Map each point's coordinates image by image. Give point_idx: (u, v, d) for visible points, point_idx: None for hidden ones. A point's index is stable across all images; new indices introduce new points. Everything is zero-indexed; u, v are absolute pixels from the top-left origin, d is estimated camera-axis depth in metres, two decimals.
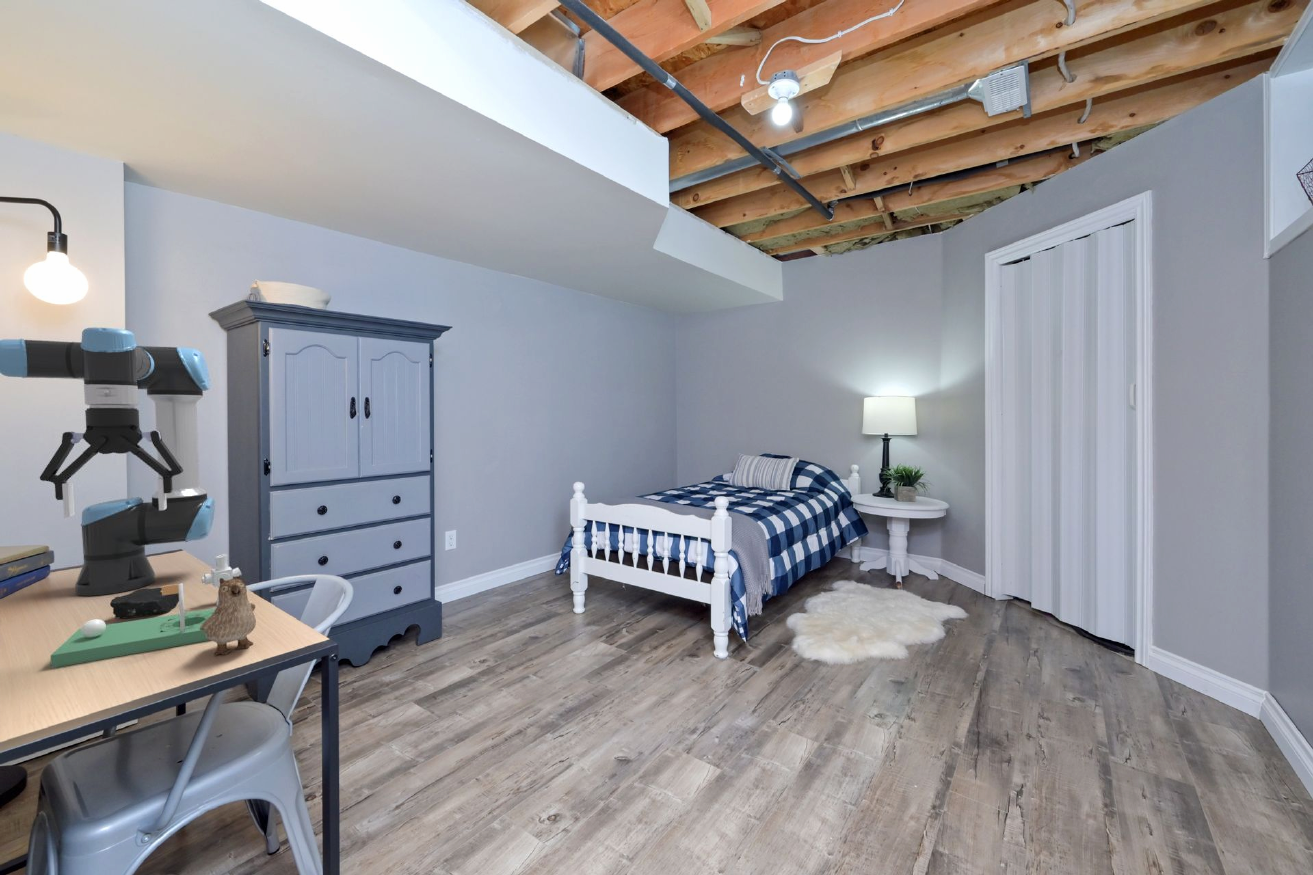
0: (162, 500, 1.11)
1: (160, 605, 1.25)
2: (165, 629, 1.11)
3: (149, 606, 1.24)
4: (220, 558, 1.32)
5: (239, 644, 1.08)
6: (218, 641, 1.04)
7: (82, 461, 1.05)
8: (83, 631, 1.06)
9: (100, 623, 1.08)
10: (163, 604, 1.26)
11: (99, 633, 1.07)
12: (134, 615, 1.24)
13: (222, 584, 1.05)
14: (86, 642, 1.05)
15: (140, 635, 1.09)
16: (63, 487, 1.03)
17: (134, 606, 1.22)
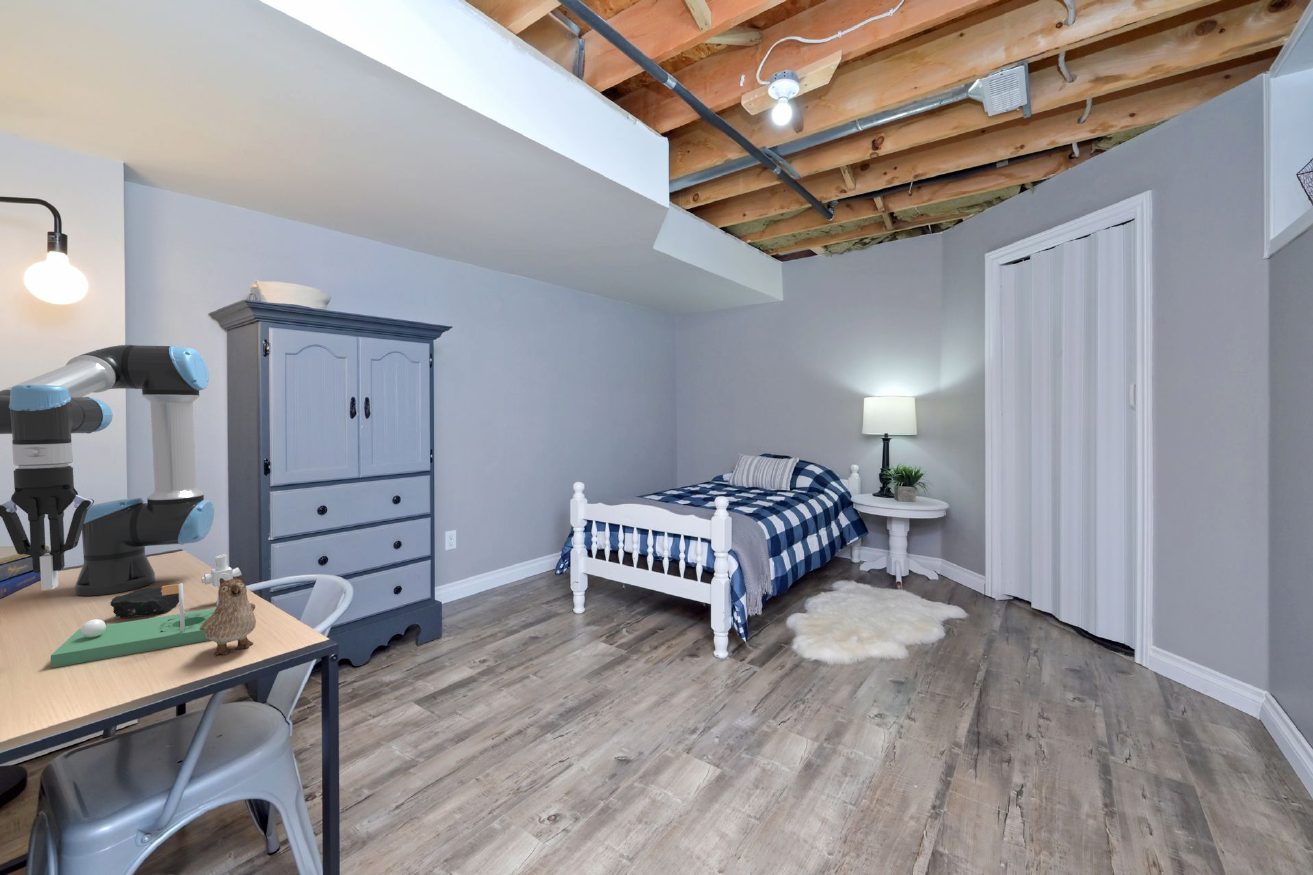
0: (51, 578, 1.03)
1: (160, 605, 1.25)
2: (165, 629, 1.11)
3: (148, 606, 1.24)
4: (220, 558, 1.32)
5: (239, 644, 1.08)
6: (218, 641, 1.04)
7: (37, 527, 1.02)
8: (83, 631, 1.06)
9: (100, 623, 1.08)
10: (163, 604, 1.26)
11: (99, 633, 1.07)
12: (134, 614, 1.24)
13: (222, 584, 1.05)
14: (86, 642, 1.05)
15: (140, 635, 1.09)
16: (41, 560, 1.02)
17: (134, 606, 1.23)
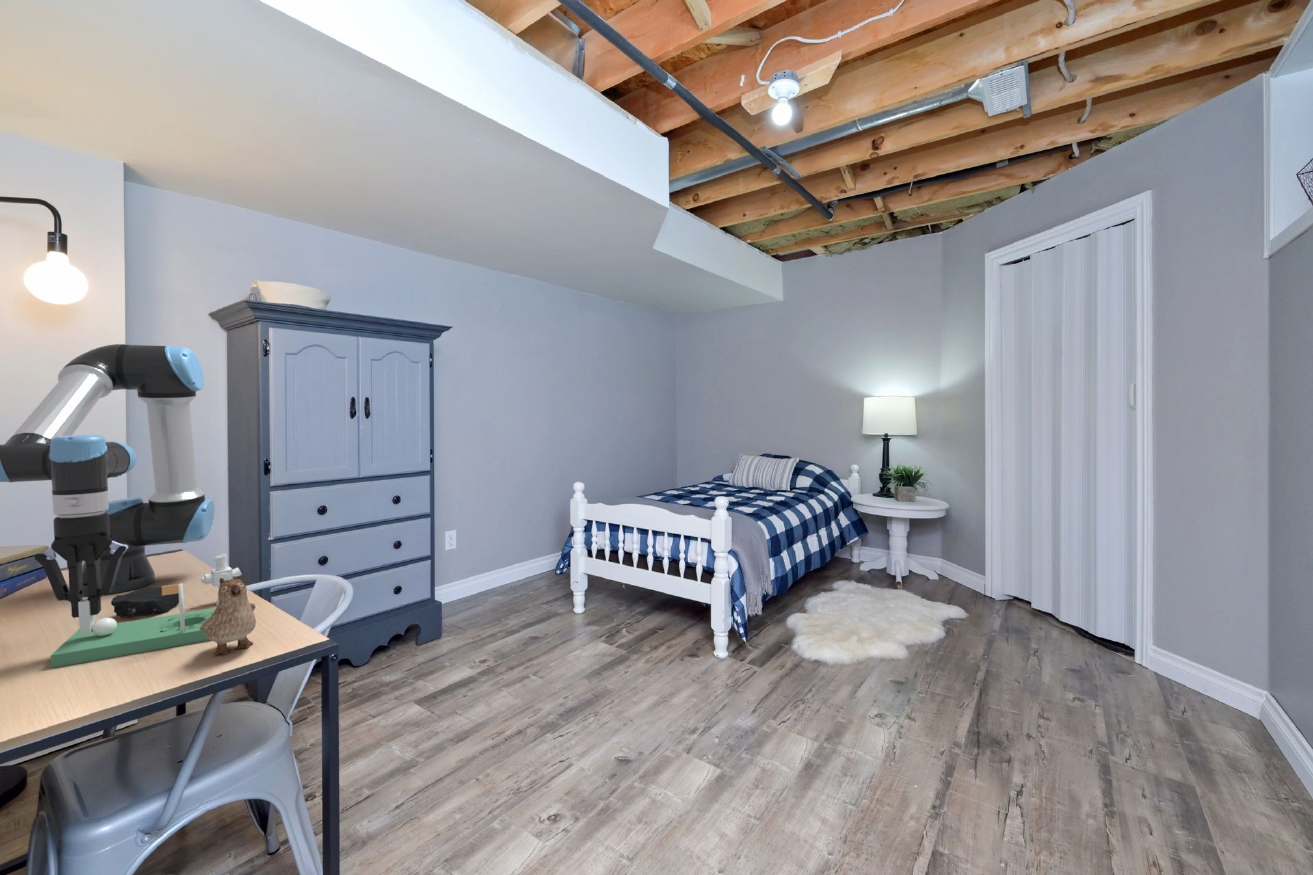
0: (88, 623, 1.06)
1: (159, 605, 1.25)
2: (165, 629, 1.11)
3: (148, 606, 1.24)
4: (220, 558, 1.32)
5: (239, 644, 1.08)
6: (218, 641, 1.04)
7: (75, 574, 1.05)
8: (97, 625, 1.07)
9: (114, 627, 1.09)
10: (163, 603, 1.26)
11: (103, 635, 1.08)
12: (134, 614, 1.25)
13: (222, 584, 1.05)
14: (86, 642, 1.05)
15: (140, 635, 1.09)
16: (79, 605, 1.05)
17: (133, 605, 1.23)
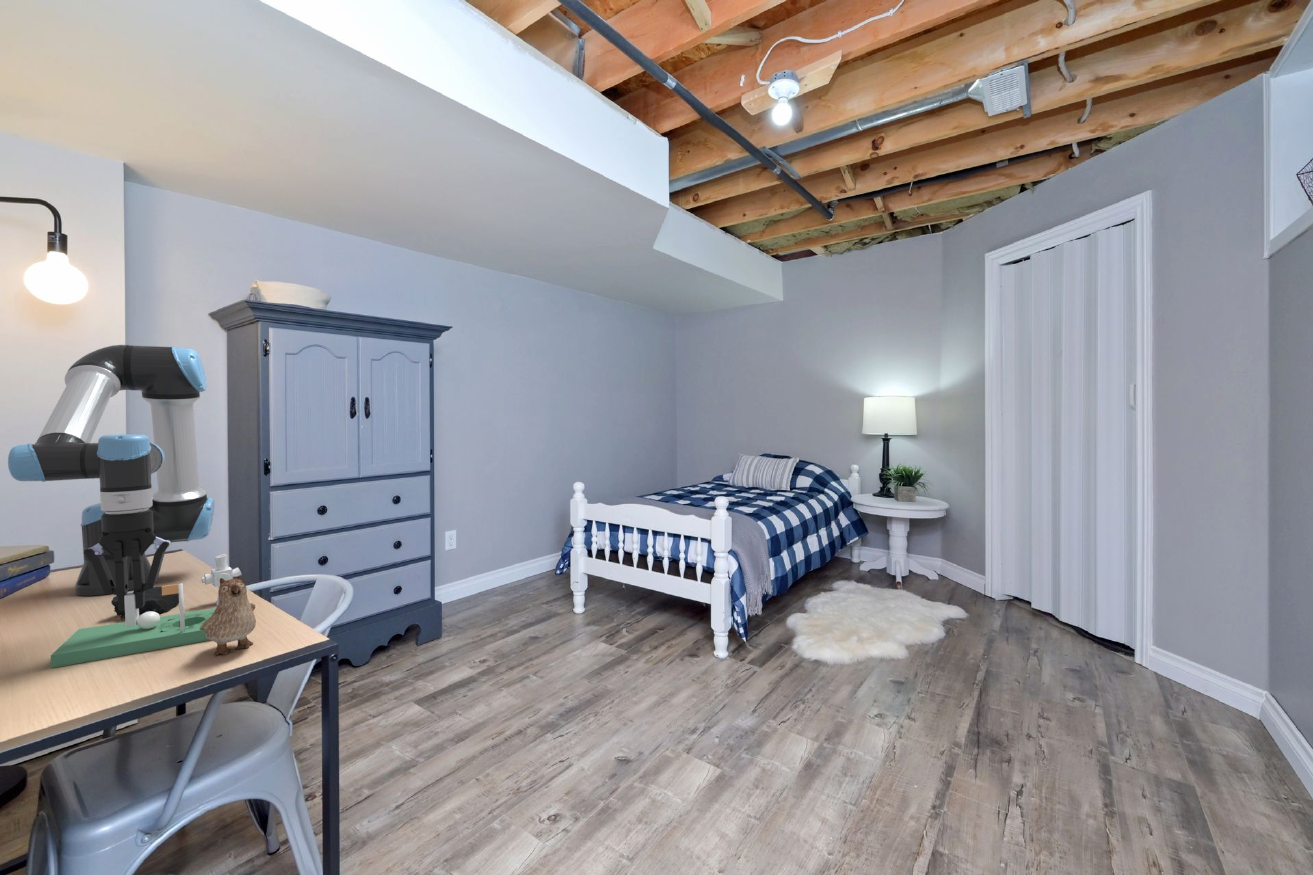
0: (134, 616, 1.10)
1: (159, 604, 1.25)
2: (165, 629, 1.11)
3: (148, 605, 1.24)
4: (220, 558, 1.32)
5: (239, 644, 1.08)
6: (218, 641, 1.04)
7: (122, 568, 1.09)
8: (151, 625, 1.11)
9: (137, 621, 1.10)
10: (163, 603, 1.26)
11: (147, 614, 1.11)
12: None
13: (222, 584, 1.05)
14: (86, 642, 1.05)
15: (140, 635, 1.09)
16: (125, 599, 1.09)
17: None
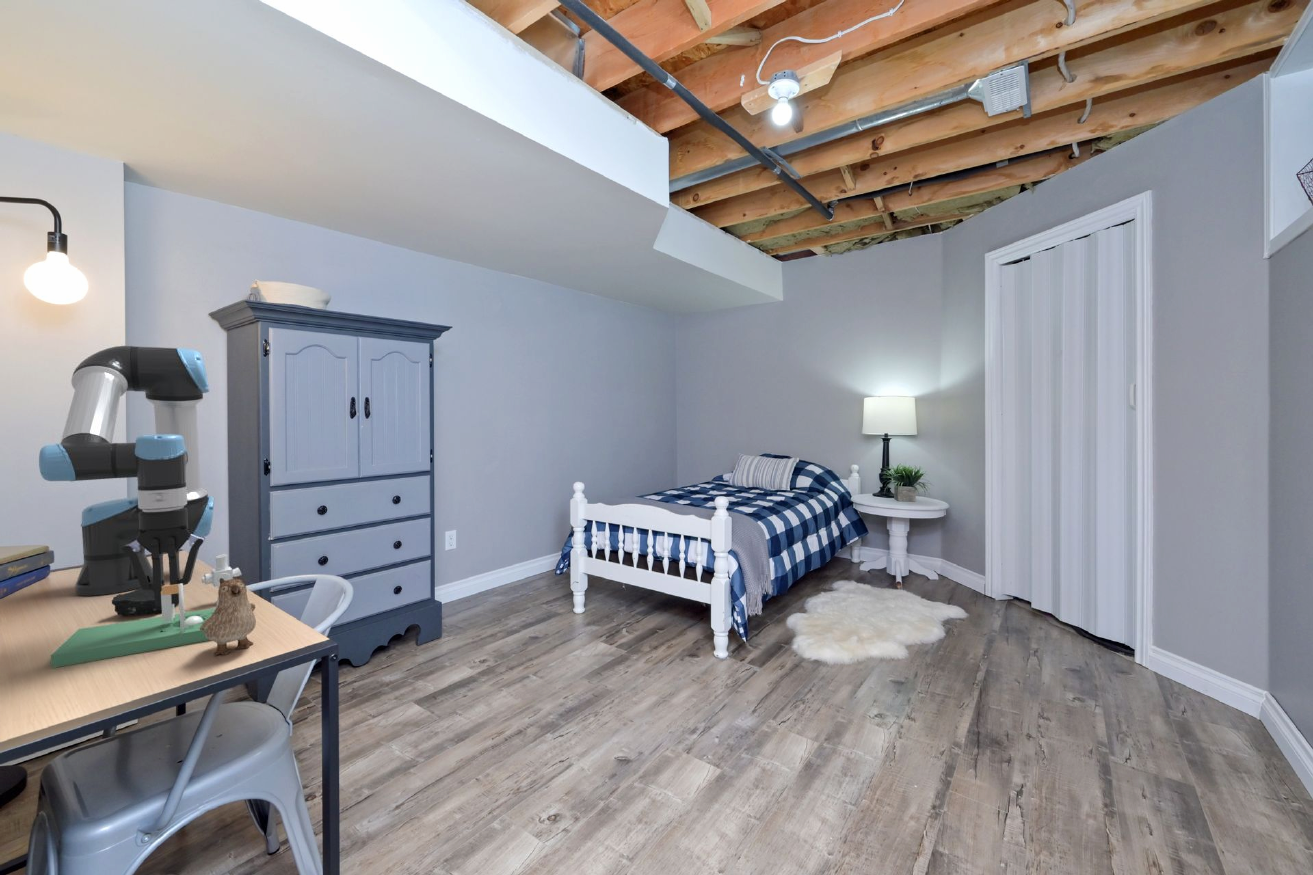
0: (170, 611, 1.13)
1: None
2: (165, 629, 1.11)
3: (148, 605, 1.25)
4: (220, 558, 1.32)
5: (239, 644, 1.08)
6: (218, 641, 1.04)
7: (158, 565, 1.12)
8: (193, 621, 1.15)
9: None
10: None
11: None
12: (135, 613, 1.25)
13: (222, 584, 1.05)
14: (86, 642, 1.05)
15: (140, 635, 1.09)
16: None
17: (133, 604, 1.23)
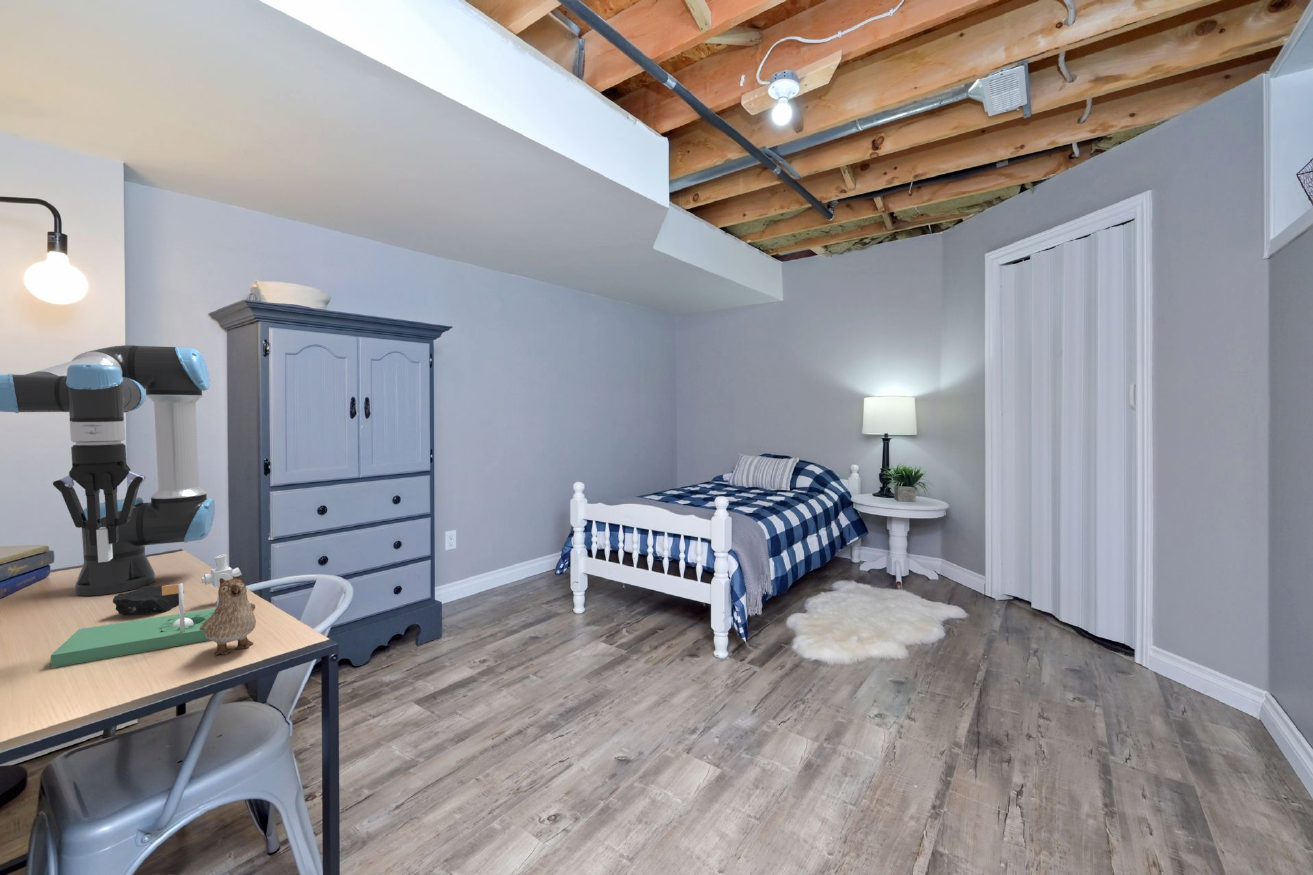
0: (107, 551, 1.07)
1: (159, 604, 1.26)
2: (165, 629, 1.11)
3: (147, 604, 1.25)
4: (220, 558, 1.32)
5: (239, 644, 1.08)
6: (218, 641, 1.04)
7: (93, 502, 1.06)
8: (177, 624, 1.13)
9: None
10: (162, 602, 1.27)
11: None
12: (135, 612, 1.25)
13: (222, 584, 1.05)
14: (86, 642, 1.05)
15: (140, 635, 1.09)
16: (97, 533, 1.06)
17: (133, 604, 1.24)
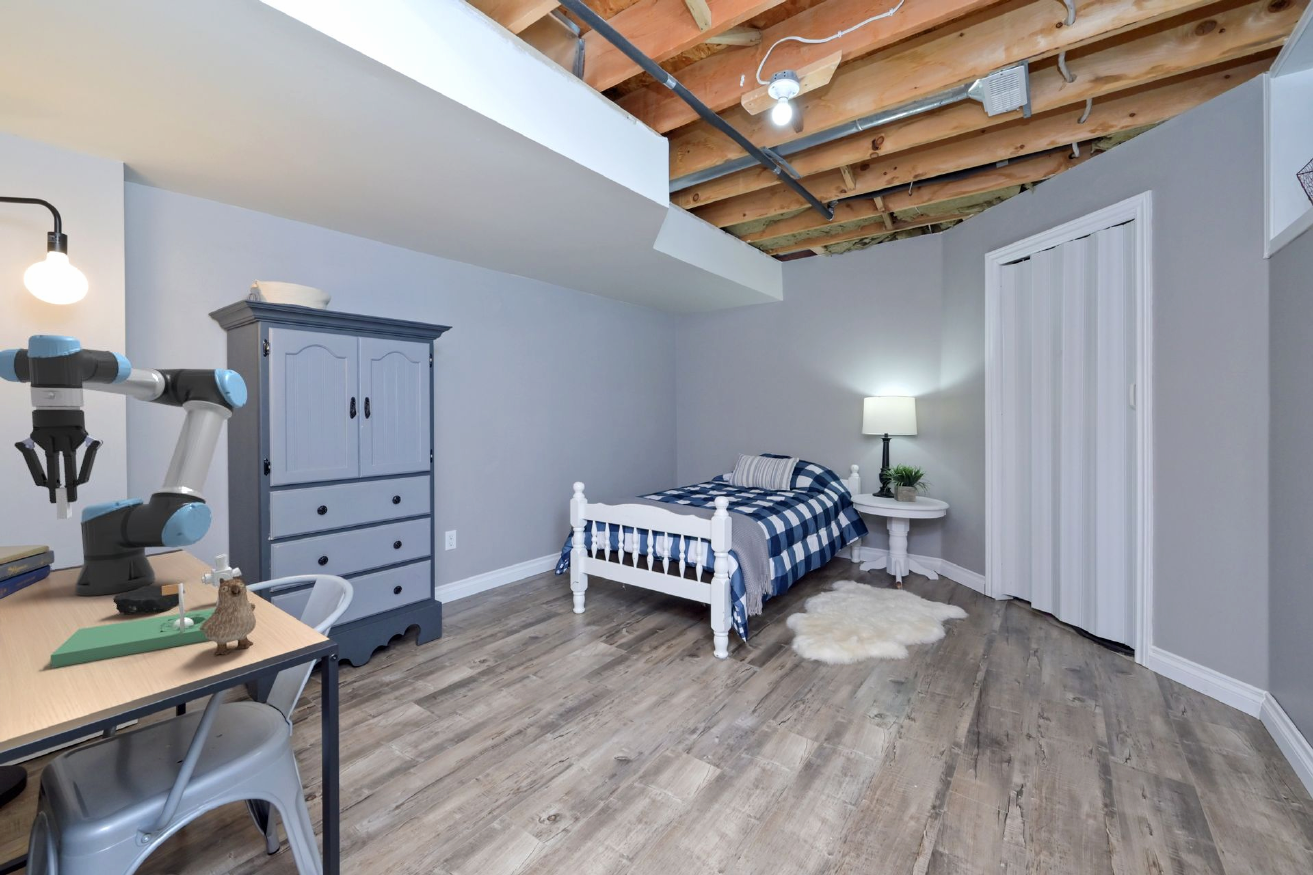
0: (65, 509, 1.16)
1: (159, 603, 1.26)
2: (165, 629, 1.11)
3: (147, 604, 1.25)
4: (220, 558, 1.32)
5: (239, 644, 1.08)
6: (218, 641, 1.04)
7: (53, 463, 1.15)
8: (177, 624, 1.13)
9: None
10: (163, 602, 1.27)
11: None
12: (136, 612, 1.26)
13: (222, 584, 1.05)
14: (86, 642, 1.05)
15: (140, 635, 1.09)
16: (56, 492, 1.15)
17: (134, 603, 1.24)
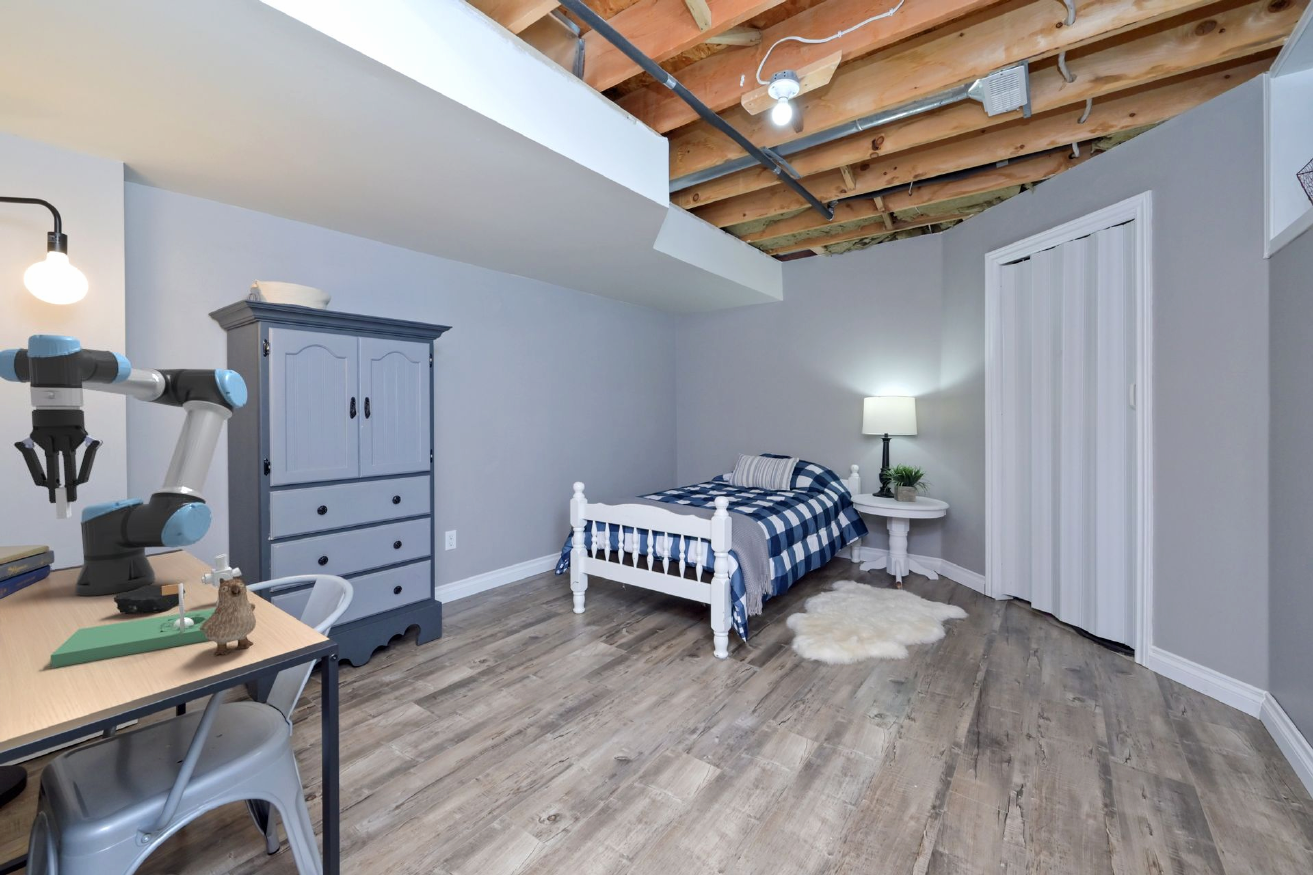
0: (65, 509, 1.16)
1: (159, 603, 1.26)
2: (165, 629, 1.11)
3: (147, 604, 1.25)
4: (220, 558, 1.32)
5: (239, 644, 1.08)
6: (218, 641, 1.04)
7: (52, 462, 1.15)
8: (177, 624, 1.13)
9: None
10: (162, 602, 1.27)
11: None
12: (136, 611, 1.26)
13: (222, 584, 1.05)
14: (86, 642, 1.05)
15: (140, 635, 1.09)
16: (56, 491, 1.15)
17: (134, 603, 1.24)
